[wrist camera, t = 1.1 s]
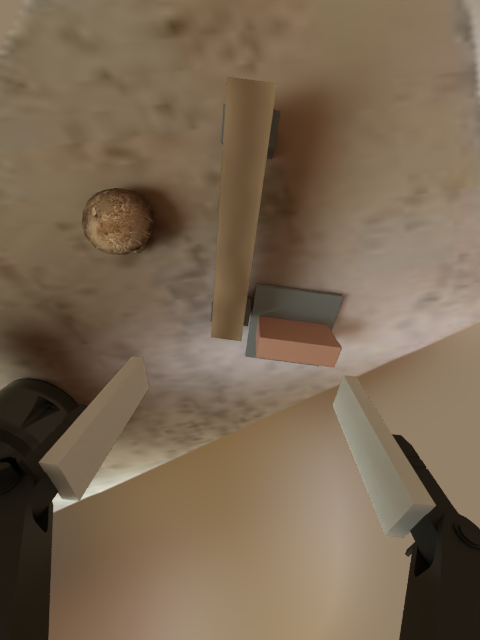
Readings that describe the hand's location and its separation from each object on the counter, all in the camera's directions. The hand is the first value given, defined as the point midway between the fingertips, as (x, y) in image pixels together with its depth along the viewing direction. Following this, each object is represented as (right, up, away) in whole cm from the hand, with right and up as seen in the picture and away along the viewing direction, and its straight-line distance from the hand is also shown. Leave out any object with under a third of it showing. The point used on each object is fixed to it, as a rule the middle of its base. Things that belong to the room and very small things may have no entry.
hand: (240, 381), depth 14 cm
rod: (0, +13, +9) cm, 16 cm away
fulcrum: (+8, +3, +18) cm, 20 cm away
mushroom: (-14, +17, +13) cm, 25 cm away
